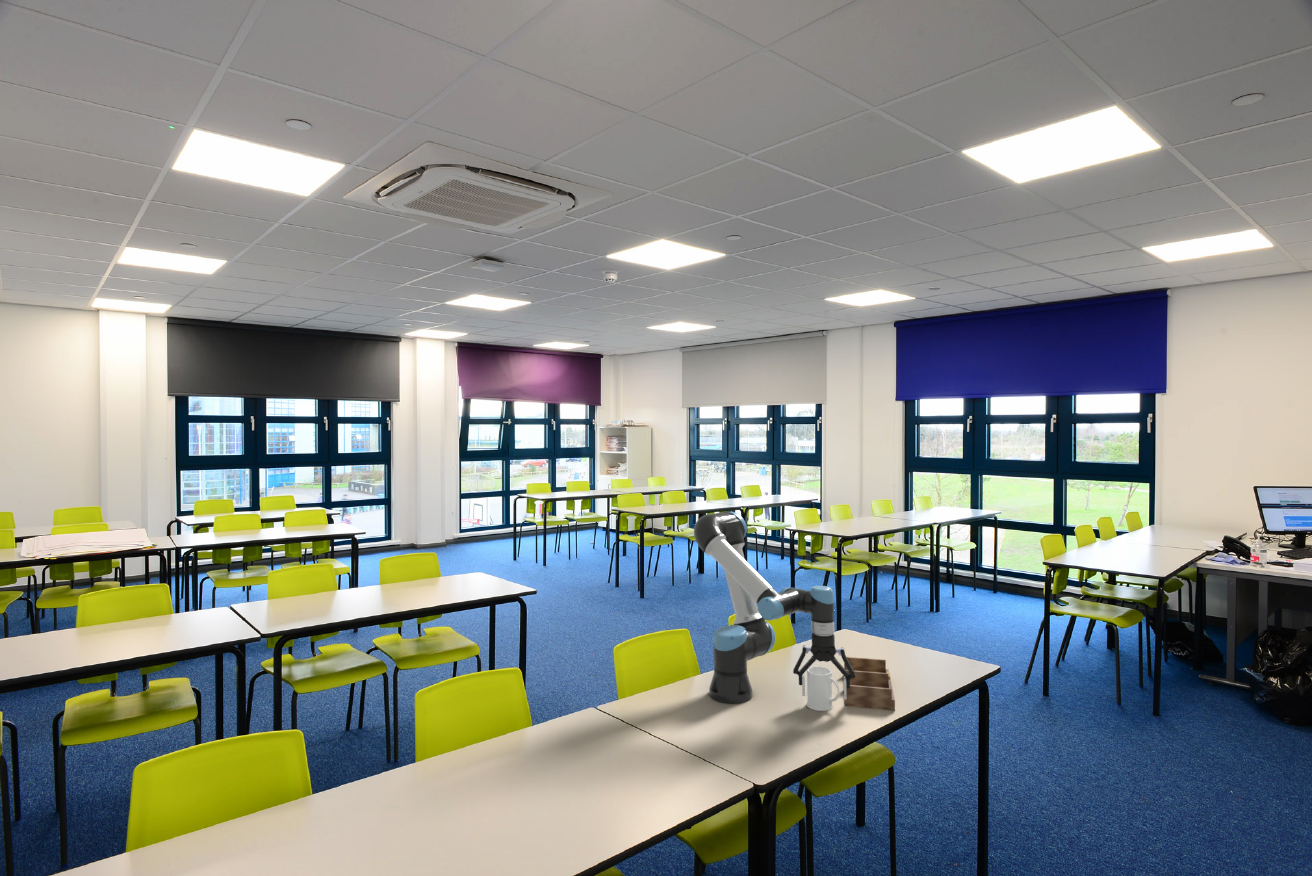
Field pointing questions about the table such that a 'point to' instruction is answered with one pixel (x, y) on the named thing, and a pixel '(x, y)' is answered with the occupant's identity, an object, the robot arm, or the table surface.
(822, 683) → the mug
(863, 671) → the rack
